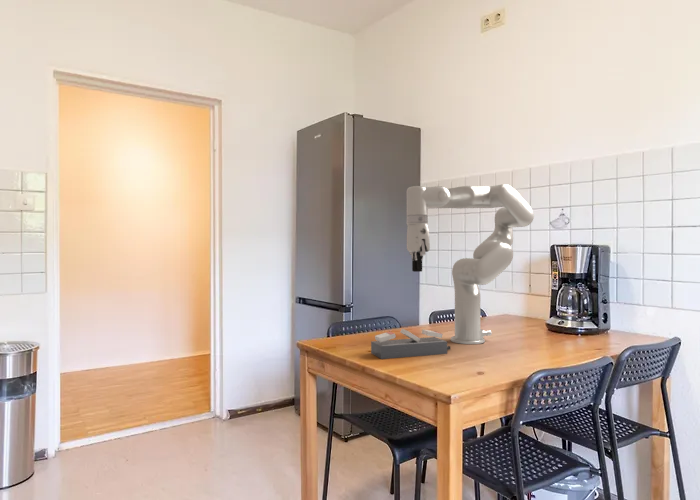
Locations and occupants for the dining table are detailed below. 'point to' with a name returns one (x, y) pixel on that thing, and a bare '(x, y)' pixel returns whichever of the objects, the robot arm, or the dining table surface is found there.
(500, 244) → the robot arm
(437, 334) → the plate
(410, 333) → the rocker
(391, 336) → the rocker
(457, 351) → the dining table surface
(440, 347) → the power strip
